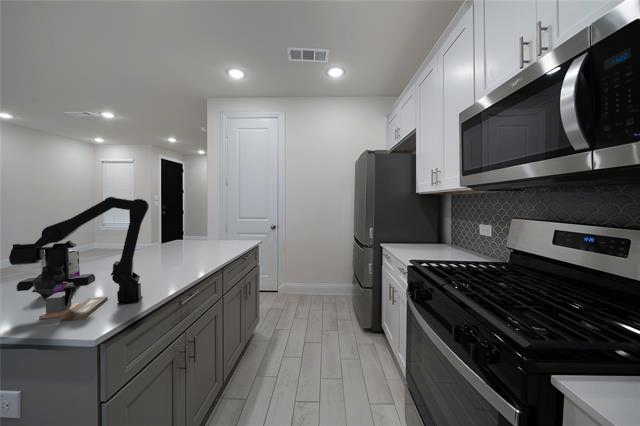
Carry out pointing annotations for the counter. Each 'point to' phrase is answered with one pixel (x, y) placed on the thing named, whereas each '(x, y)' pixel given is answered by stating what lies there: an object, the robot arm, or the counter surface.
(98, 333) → the counter surface
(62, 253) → the robot arm
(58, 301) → the stub
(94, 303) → the board
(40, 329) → the counter surface
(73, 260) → the candy bar box
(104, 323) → the counter surface
